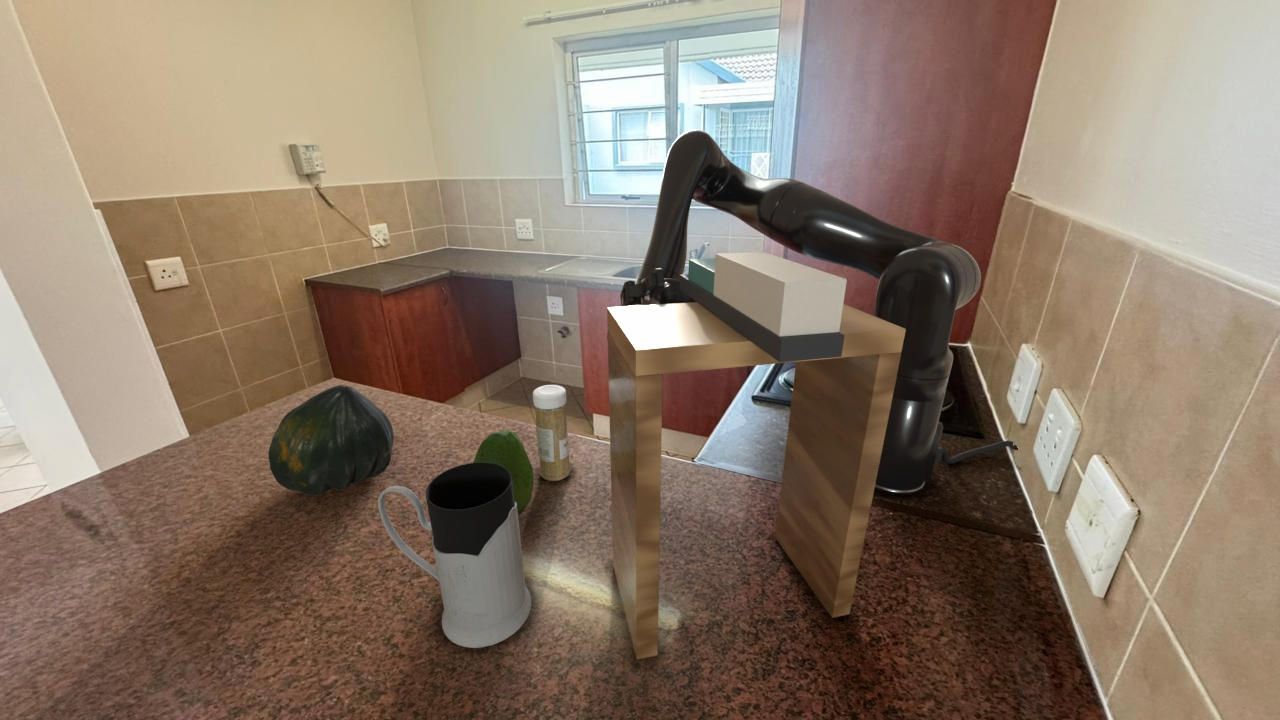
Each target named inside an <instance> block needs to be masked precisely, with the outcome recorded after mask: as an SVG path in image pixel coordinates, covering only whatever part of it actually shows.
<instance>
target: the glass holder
mask: <svg viewBox="0 0 1280 720" xmlns="http://www.w3.org/2000/svg"><path fill="white" fill-rule="evenodd" d="M387 493H399V494H400V495H403V496H404V497H406V498H407V499H408V500H409V501H410V502H411V504H412V505H413V507H414V508H415V511H416V514H417V519H418V522H419V524H420V525H421V526H422V527H423V529H425V530H427V531H429V532H430V531H431V533H432V538H431V544H432V551H433V557H434V561H435V566H436V567H434V566H433V564H430V563H429V562H428V561H426V560H425V559H423V558H422V557H421V556H419V555H418V554H417V552H416V551H414V550H413V549H412V548H410V546H409V545H407V543H406V542H405V541H404V539H402V537H401V536H400V535H399V533H398V532H397V530H396V528H395V527H394V525H393V523H392V521H391V519H390V517H389V514H388V510H387V507H386V501H385V499H386V494H387ZM425 499H426V504H427V510H428V516H429V520H428V519H427V518H426V514H425V509H424V506H423V503H422V501H421V499H420V498H419V496H417V494H416V493H415V492H413V491H412V490H411V489H409V488H408V487H405V486H402V485H392V486H388V487H387V488H385V489H384V490H383V491H382V492H380V494H379V496H378V499H377V509H378V513H379V516H380V519H381V520H380V521H381V522H382V524H383V526H384V529H385V530H386V533H387V534H388V536H389V537H390V539H391V540H392V542H393V543H394V544H395V546H396V547H397V549H399V551H400V552H401V553H403V555H405V556H406V557H407V558H408V559H409V560H411V561H412V562H413V563H415V565H417V566H418V567H419V568H421V569H422V570H423V571H425V572H426V573H428V574H429V575H430V576H432V577H433V578H434V579H435V580H437V581H438V582H439V589H440V595H441V600H442V605H443V611H442V613H441V614H442V616H441V628H442V630H443V634H444V635H445V636H446V638H447V639H448V640H449V641H450V642H452V643H454V644H456V645H457V646H460V647H464V648H472V649H479V648H485V647H491V646H493V645H496V644H499V643H501V642H503V641H505V640H506V639H508V638H510V637H511V636H512V635H514V634H515V633H517V632H518V631H519V629H521V627H522V626H523V625H524V624H525V622H526V621H527V619H528V618H529V615H530V613H531V609H532V604H533V603H532V595H531V592H530V591H529V589H528V587H527V585H526V580H525V570H524V560H523V552H522V543H521V533H520V532H521V531H520V523H519V515H518V513H517V503H516V502H515V503H514V493H513V484H512V476H511V474H510V472H509V471H508V470H507V469H506V468H505V467H503V466H501V465H498V464H494V463H487V462H476V463H473V462H469V463H464V464H460V465H457V466H454V467H452V468H449V469H446V470H445V471H443V472H440V473H439V474H438V475H436V476H435V477H434V478H433V479H432V480H431V481H430V482H429V484H428V485H427V487H426V489H425Z"/></svg>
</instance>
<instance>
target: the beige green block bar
mask: <svg viewBox="0 0 1280 720" xmlns="http://www.w3.org/2000/svg"><path fill="white" fill-rule="evenodd" d="M847 279H848V278H845V277H841V276H839V275H835V274H832V273H829V272H826V271H823V270H821V269H817V268H814V267H812V266H808V265H805V264H802V263H799V262H795V261H793V260H790V259H787V258H783V257H780V256H777V255H775V254H771V253H768V252H766V251H745V252H743V251H742V252H722V253H721V252H719V253H715V257H713V258H690V259H688V274H683V275H680V283H679V289H680V290H681V291H682V292H684V293H685V294H686V295H688V296H689V297H690V298H692V299H693V300H695V301H696V302H697V303H699V304H700V305H701V306H703V307H704V308H706V309H707V310H708V311H710V312H711V313H712V314H714V315H715V316H717V317H718V318H719V319H721V320H722V321H723V322H725V323H726V324H728V325H729V326H730V327H732V328H733V329H734V330H736V331H737V332H739V333H740V334H741V335H743V336H744V337H745V338H747V339H748V340H750V341H751V342H752V343H754V344H755V345H757V346H758V347H759V348H761V349H762V350H763V351H765V352H766V353H768V354H769V355H770V356H772V357H773V358H774V359H776V360H777V361H779V362H788V361H799V360H811V359H822V358H833V357H841V356H842V350H843V343H844V337H845V335H844V334H842V333H840V332H839V330H840V323H841V317H842V310H843V304H845V303H844V302H845V296H846V289H847V282H848V280H847ZM788 363H789V362H788Z"/></svg>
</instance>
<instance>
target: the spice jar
mask: <svg viewBox="0 0 1280 720" xmlns="http://www.w3.org/2000/svg"><path fill="white" fill-rule="evenodd" d="M532 391H533V392H532V403H533V407H534V412H535V429H536V441H537V450H538V457H539V466H540V469H539V475H540V477H541V478H542V479H544V480H546V481H550V482H557V481H561V480H564V479H566V478H567V477H568V476H570V474H571V470H572V469H571V466H570V446H569V435H568V434H569V433H568V422H567V408H566V405H567V400H568V399H567V390H566V388H565V387H563V386H562V385H559V384H545V385H541V386H539V387H536V388H535V389H534V390H532Z"/></svg>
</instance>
